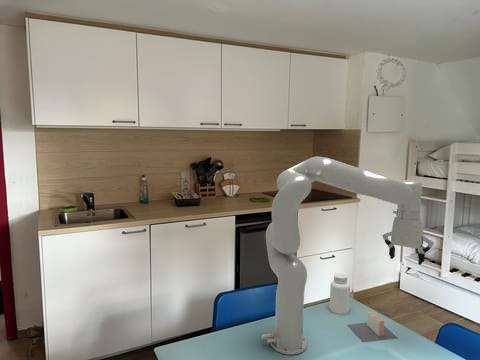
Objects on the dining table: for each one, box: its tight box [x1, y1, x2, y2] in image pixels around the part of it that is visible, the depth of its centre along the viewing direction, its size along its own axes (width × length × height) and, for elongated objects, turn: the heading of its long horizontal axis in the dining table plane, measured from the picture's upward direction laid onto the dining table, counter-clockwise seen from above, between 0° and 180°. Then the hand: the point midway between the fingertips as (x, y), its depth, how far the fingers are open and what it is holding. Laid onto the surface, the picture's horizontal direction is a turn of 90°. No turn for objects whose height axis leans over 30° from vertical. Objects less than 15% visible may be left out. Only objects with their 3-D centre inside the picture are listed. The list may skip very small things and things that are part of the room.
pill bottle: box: [329, 273, 351, 315], centre depth 153 cm, size 8×8×15 cm
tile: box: [366, 310, 385, 337], centre depth 137 cm, size 2×8×6 cm, turn 11°
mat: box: [346, 322, 399, 343], centre depth 137 cm, size 14×12×1 cm
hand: (406, 260), depth 134 cm, fingers open, 9 cm apart
